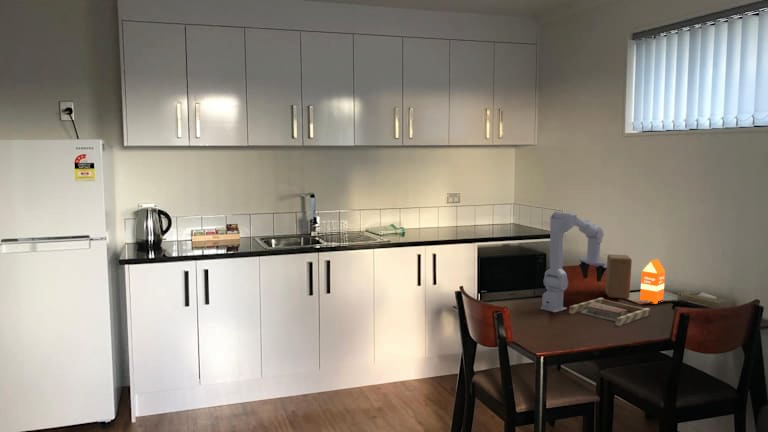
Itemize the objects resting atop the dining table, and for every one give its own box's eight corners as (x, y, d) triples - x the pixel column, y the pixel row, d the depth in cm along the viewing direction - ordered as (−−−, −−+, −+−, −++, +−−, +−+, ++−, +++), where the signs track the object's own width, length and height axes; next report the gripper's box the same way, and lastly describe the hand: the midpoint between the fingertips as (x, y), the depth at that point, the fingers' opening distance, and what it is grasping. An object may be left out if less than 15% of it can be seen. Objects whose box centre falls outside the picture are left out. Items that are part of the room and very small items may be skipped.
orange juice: (663, 300, 300) (666, 259, 298) (655, 303, 294) (658, 262, 292) (647, 297, 306) (649, 257, 303) (639, 300, 300) (642, 259, 297)
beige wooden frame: (619, 325, 259) (619, 318, 258) (569, 313, 277) (569, 306, 277) (649, 315, 275) (650, 308, 275) (600, 303, 293) (600, 297, 293)
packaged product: (630, 308, 270) (619, 312, 263) (630, 319, 270) (618, 323, 264) (592, 299, 283) (580, 303, 277) (592, 310, 284) (580, 314, 277)
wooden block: (629, 299, 302) (632, 258, 300) (608, 297, 304) (610, 257, 302) (626, 294, 312) (628, 254, 310) (605, 293, 314) (607, 253, 312)
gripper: (611, 253, 293) (610, 281, 295) (586, 248, 305) (584, 275, 307) (602, 254, 289) (601, 283, 291) (576, 250, 301) (575, 277, 303)
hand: (592, 279), depth 298 cm, fingers open, 7 cm apart
